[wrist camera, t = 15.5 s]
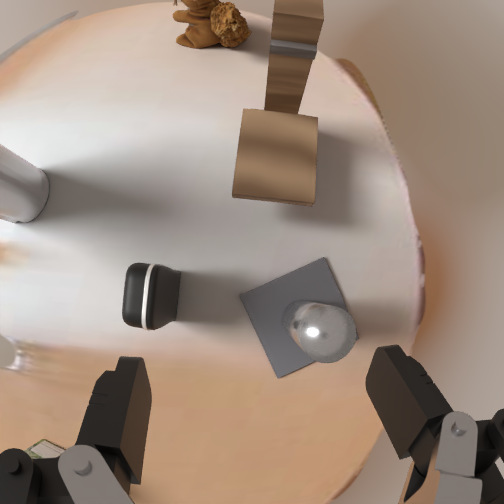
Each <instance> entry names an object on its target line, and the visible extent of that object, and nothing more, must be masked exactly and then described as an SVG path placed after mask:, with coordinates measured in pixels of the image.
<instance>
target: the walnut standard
mask: <svg viewBox="0 0 504 504" xmlns="http://www.w3.org/2000/svg"><path fill="white" fill-rule="evenodd" d="M323 21H324V13H323V0H275V4H274V12H273V23H272V33H271V43H270V53H269V54H270V55H269V65H268V76H267V87H266V97H265V108H264V110H259V109H243V115H242V122H241V129H240V136H239V144H238V151H237V159H236V166H235V174H234V181H233V189H232V197H233V198H241V199H251V200H261V201H270V202H279V203H288V204H296V205H304V206H312V205H313V204H314V202H315V184H316V162H317V132H318V117H312V116H306V115H301V114H298V111H299V107H300V104H301V100H302V97H303V93H304V89H305V86H306V82H307V79H308V75H309V71H310V68H311V64H312V61H313V60H314V59H315V56H316V52H317V42H318V39H319V35H320V31H321V28H322V24H323Z"/></svg>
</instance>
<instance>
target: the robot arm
mask: <svg viewBox="0 0 504 504" xmlns="http://www.w3.org/2000/svg"><path fill="white" fill-rule="evenodd" d="M48 194H49V181H48V178H47V176H46V174H45V173H44V172H43V171H42V170H40V169H39V168H37V167H35V166H34V165H32V164H31V163H29V162H28V161H26V160H24V159H23V158H21V157H20V156H18V155H16V154H15V153H13V152H12V151H10V150H9V149H7V148H5V147H4V146H2V145H1V144H0V219H3V220H6V221H9V222H12V223H15V222H17V221H20V222H29V221H31V220H33V219H34V218H36V217H37V216H38V215H39V214H40V212H41V211H42V210H43V208H44V206H45V204H46V201H47V199H48ZM366 390H367V393H368V395H369V397H370V399H371V401H372V403H373V405H374V407H375V409H376V411H377V413H378V415H379V417H380V419H381V421H382V423H383V426H384V428H385V430H386V432H387V434H388V436H389V438H390V440H391V442H392V444H393V446H394V448H395V450H396V452H397V454H398V457H399V459H403V458H407V457H410V456H411V457H412V458H413V461H412V463H411V465H410V468H409V472H408V475H407V478H406V482H405V485H404V488H403V491H402V494H401V497H400V500H399V503H398V504H504V479H503V477H502V475H501V473H500V471H499V469H498V468H497V466H496V464H495V461H496V460H497V459H498V458H499V457H501V459H502V461H503V462H504V409H501V410H499V411H497V413H496V414H495V415H494V417H493V418H492V419H491V420H481V421H475V420H474V419H473V418H472V417H471V416H470V415H468V414H466V413H463V412H459V411H456V412H454V411H453V410H452V408H451V407H450V405H449V404H448V402H447V401H446V399H445V398H444V396H443V395H442V393H441V392H440V391H439V389H438V388H437V386H436V385H435V383H433V381H432V379H431V378H430V377H429V376H428V375H427V372H426V371H425V370H424V368H423V367H422V365H421V364H420V363H419V362H417V361H416V360H415V359H413V358H412V357H411V356H406V354H405V353H404V351H403V350H402V349H401V347H400V346H399V345H390V346H383V347H378V348H377V349H376V351H375V353H374V356H373V359H372V362H371V365H370V368H369V371H368V374H367V376H366ZM151 403H152V395H151V388H150V383H149V379H148V375H147V371H146V367H145V362H144V359H143V358H142V357H124V356H121V357H120V358H119V360H118V363H117V366H116V370H115V371H107V370H106V371H105V372H104V373H103V374H102V375H101V376H100V377H99V379H98V380H97V381H96V384H95V386H94V389H93V392H92V395H91V398H90V401H89V405H88V407H87V410H86V413H85V416H84V419H83V422H82V425H81V428H80V432H79V435H78V438H77V441H76V443H75V445H74V446H72V447H70V448H68V449H66V450H65V451H64V452H63V453H62V455H61V456H59V457H55V458H40V459H32V458H31V457H30V456H29V455H28V454H27V453H26V452H25V451H23V450H21V449H16V448H12V449H8V450H5V451H4V452H2V453H1V454H0V504H135V503H134V502H133V500H132V499H131V497H130V496H129V491H130V483H132V484H140V485H141V476H142V467H143V459H144V451H145V444H146V437H147V430H148V423H149V417H150V410H151Z"/></svg>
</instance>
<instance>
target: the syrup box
mask: <svg viewBox="0 0 504 504" xmlns="http://www.w3.org/2000/svg"><path fill="white" fill-rule="evenodd" d="M64 451H65V450H64V449H62V448H60V447H58V446H56V445H54V444H52V443H50V442H48V441H46V440H44V439H42V440H40V441H39V442H37V443H36V444H34V445H33V446H31V447H30V448H28V449H26V450H25V452H26V453H27V454H28V455H29V456H30V457H31V458H32V459H40V458H55V457H59V456H61V455H62V453H63V452H64Z"/></svg>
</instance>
